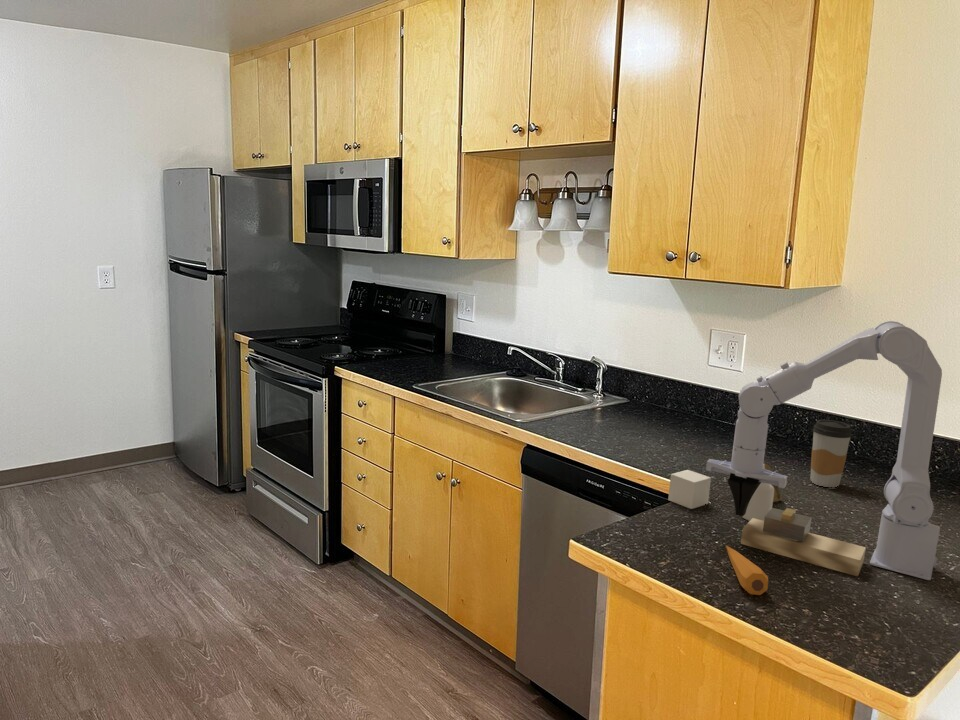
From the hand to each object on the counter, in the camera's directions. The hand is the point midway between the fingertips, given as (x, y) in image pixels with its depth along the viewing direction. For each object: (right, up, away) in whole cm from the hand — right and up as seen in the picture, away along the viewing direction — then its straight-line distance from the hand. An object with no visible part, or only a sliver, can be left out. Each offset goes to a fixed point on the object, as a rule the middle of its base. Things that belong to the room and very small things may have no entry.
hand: (740, 514), depth 142 cm
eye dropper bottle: (+6, -3, +10) cm, 12 cm away
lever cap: (+7, -2, -4) cm, 9 cm away
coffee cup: (+32, 0, +35) cm, 48 cm away
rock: (+11, -2, +20) cm, 24 cm away
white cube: (-5, -1, +18) cm, 19 cm away
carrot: (-5, -7, -14) cm, 16 cm away
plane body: (+9, -6, -5) cm, 12 cm away
